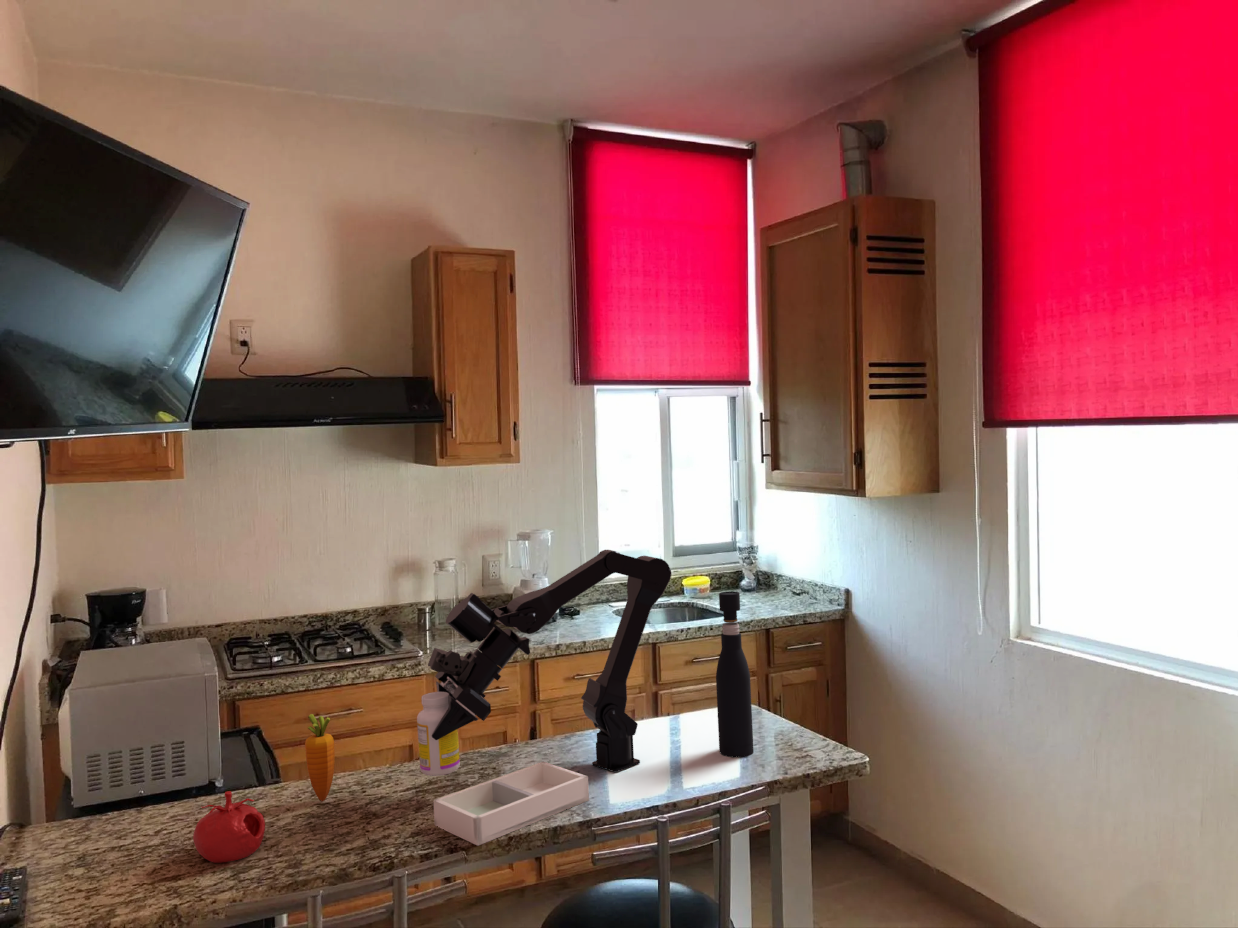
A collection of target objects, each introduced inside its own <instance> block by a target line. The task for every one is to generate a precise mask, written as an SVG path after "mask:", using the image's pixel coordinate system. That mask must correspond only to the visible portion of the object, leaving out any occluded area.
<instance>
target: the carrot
mask: <svg viewBox="0 0 1238 928" xmlns="http://www.w3.org/2000/svg"><path fill="white" fill-rule="evenodd" d="M308 719H309V721H310V722H311V724H312V725H309V726H307V729H308V730H310V731H311V732H312V733H313V734H312V735H310V736H308V737H307V738H306V739H305V741H304V748H305V749H304V751H305V760H306V767H307V773H308V777H309V779H310V780H309V781H310V784H311V786H312V790H313V791H314V794H315V795H316V797H317V798H318V800H319V801H321V802H324V801H326V799H327V797H328V796H329V792H330V790H331V787H332V784H333V779H334V773H335V759H336V758H335V757H336V756H335V754H336V753H335V739H334V737H333V735H332V734H330V733H326V729H327V726H328V724H329V723H330V721H331V718H330V717H326V718H324V716H323V715H319V716H318V720H317V718H316V717H315V715H314V714H313V713H310V714H309V715H308ZM318 721H319V722H318Z"/></svg>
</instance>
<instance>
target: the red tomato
mask: <svg viewBox="0 0 1238 928" xmlns="http://www.w3.org/2000/svg"><path fill="white" fill-rule="evenodd" d="M232 795H233V793H232V791H231V790H229V791H228V790H227V791H225V792H224V797H225V803H224V804H225V805H224V806H223V805H221V804H220V805H218V804H217V805H215V804H213V805H211V804H208V805H204V806H201V808H202V809H206V808H208V807H212V808H211V809H210V811H209V812H208V813H206V814H205V815H204V816H203V817H201V818H200V819H199V820H198V822H197V823H196V826H195V827H194V831H193V837H192V838H193V839H192V840H193V844H194V846H195V849H196V851H197V854H199V855H200V856H201V857H202V858H204V859H205V860H207V861H208V862H211V863H215V864H216V863H217V864H221V863H228V862H233V861H234V862H235V861H238V860H241V859H244V858H248V857H249V856H251V855H253V854H254V853H256V851H257V850H258V849H259V848H260V846H261V844H262V842H263V840H264V836H265V831H266V821H265V818H264V815H263V814H262V813H261V812H259V811H258V809H257V808H256V807H255V806H252V805H249V804H246V803H245V802H247V801H249V802H254V801H255V799H251V798H245V799H244V800H241V801H238V802H232Z"/></svg>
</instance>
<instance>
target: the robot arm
mask: <svg viewBox="0 0 1238 928" xmlns="http://www.w3.org/2000/svg"><path fill="white" fill-rule="evenodd" d="M613 574H618V575H619V574H620V575H623V576H627V581H626V589H627V590H626V591H627V601H626V603H625V606H624V609H623V612H622V615H621V618H620V621H619V624H618V627H617V630H616V633H615V635H614V639H613V641H612V644H611V647H610V650H609V653H608V656H607V659H606V662H605V665H604V668H603V670H602V671H601V674H600V675H599V676H598V677H597V678H596V679H595V680H594V679H593V678H591V677H589V678H588V679H587V680H588V681H587V682H586V689H585V691H584V693H583V695H582V696H581V698H580V699H581V700H582V711H583V712H584V715H585V716H586V717H587V718H588V719H589V721H591V722H592V723H593V725H594V727H595V728H597V729H598V730H599V731H598V732H596V742H595V753H596V756H595V757H596V760H594V761H592V763H591V764H592V766H595V767H598V768H601V769H604V770H608V771H610V772H613V773H618V772H621V771H622V770H625V769H628V768H630V767H633V766H635V765H637V764H640V763H641V760H640V759H638V758H635V753H634V736H635V734H636V733H637V729H638V728H637V727H638V722H637V721H636V720H634V719H633V718H632V717H631V716H629V715H628V714H627V713H626V707H627V704H628V703H627V702H628V689H627V683H628V682H627V681H628V678H629V676H630V671H631V668H632V666H633V662H634V659H635V657H636V654H637V651H638V649H639V645H640V642H641V639H642V636H643V634H644V631H645V627H646V625H647V622H648V619H649V616H650V612H651V609H652V608H653V607H654V605H655V604H656V603H657V602H658V600H660V598H661V597H662V596H663V594H664V593H665V590H666V588H667V586H668V585H669V583H670V581H671V578H672V569H671V567H670V564H668V562H667V561H666V560H664V559H662V558H658V557H653V556H648V555H641V556H638V557H634V556H630V555H626V554H623V553H620V552H619V551H616V550H611V549H604V550H601V551H600V552H598V554H597V555H595V556H593V557H592V558H590V559H589V560H587V561H586V562H584V563H582V564H581V565H579V566H578V567H576V568H575V569H573V570H572V571H570V572H568V573H567V574H564V575H563V576H561V577H560V578H558V579H557V580H555V581H554V582H552V583H551V584H549V585H548V586H545V587H543V588H539V589H536V590H533V591H529V592H527V593H524V594H522V595H520V596H517V597H515V598H512V599H511V600H510V601H509V602H508V603H507V604H506V605H503V606H499V607H496V608H492V609H491V608H490V607H489V606H488V605H486V603H484V602H483V601H482V600H481V598H480V597H479V596H477V595H476V594H475V593H473V592H471V593H469V594H468V596H467V597H465V598H464V599H462V600H461V601H460V602H459V603H458V604H455V605H454V606H453V608H452V609H451V610H450V611H449V612H448V615H447V616H446V618H445V623H446V624H447V625H448V626H449V627H451V628H452V629H453V630H454V632H457V634H459V635H460V636H461V637H463V638H464V639H465V640H466V641H467V642H468V643H470V644H472V643H474V642H476V641H477V642H478V643H480V644H479V645H478V647H477V648H476V649H475V650H474V652H472V651H467V652H466V654H465V655H464V656H462V655H461V654H460V653H459V652H455V651H453V650H451V649H449V650H448V651H447V650H443V649H440V648H437V647H434V648H433V649H432V653H431V656H430V659H429V660H428V663H427V666H428V667H429V668H430V670H433V671H435V672H437V673H436V674H435V676H434V677H435V678H436V679H437V680H438V681H440V682H438V681H437V680H436V681H435V682H436V683H435V685H436V692H447V693H449V695H448V709H447V711H446V712H445V714H444V716H443V717H442V719H441V720H440V722H439V724H438V725H437V727H436V729H435V730H434V732H433V734H432V738H434V739H435V740H438V739H440V738H442V737H444V736H445V735H447V734H449V733H451V732H453V731H455V730H457V729H458V730H459V729H460V728H463V727H464V726H467V725H470V723H473V722H477V721H478V720H479V719H480V720H481V721H483V722H484V721H485V720H486V719H487V718H488V717H489V715H490V714H491V713H492V708H491V707H492V706H491V702H489V701H488V700H487V699H485V697H486V696H487V695H486V694H485V691H486V690H487V689H488V688H489V687H490V685H491V684H492V683H493V682H494V680H496V682H498V681H499V680H500V678H501V677H502V675H500V672H501V671H503V669H504V668H505V666H506V665H507V664H508V663H509V662H510V660H511V659H512V657H514V655H515V654H516V653H517V651H518V650H520V651H521V652H522V653H524V654H525V655H526V656H529V655H530V654H531V649H530V641H531V640H530V639H529V638H528V637H526V636H523V637H520V636H519V635H518V634H517V633H516V632H514V631H513V630H512V629H511V628H514V629H516V630H517V631H519V632H521V633H522V634H527V635H531V634H534V633H537V632H538V631H540V630H541V629H542V628H543V627H544V626H545V625H546V624H547V623H549V622H550V620H552V619H553V618H554V616H555V615H556V613H557V612H558V611H559V610H560V609H561V608H562V607H563V606H564V605H566V604H568V603H569V602H570V601H572V600H574V599H576V598H577V597H578V596H580V595H582V594H583V593H585V592H587V590H589V589H591V588H592V587H594V586H595V585H597V584H599V583H600V582H602V581H604V579H606V578H608V577H609V576H611V575H613ZM496 622H498V623H500V625H503V626H505V627H507V628H505V629H504V630H503V629H501V627H499V626H498V625H497V624H496Z"/></svg>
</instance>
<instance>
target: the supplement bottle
mask: <svg viewBox="0 0 1238 928" xmlns="http://www.w3.org/2000/svg"><path fill="white" fill-rule="evenodd" d="M448 695H449V693H447V692H437V691H434V692H428V693H425V694H423V695H421V705H422V710H420V711H419V712H418V714H417V715H416V716H417V717H416V725H417V739H418V742H417V743H418V755H419V759H418V760H419V767H420V768H419V769H420V772H421V773H422V774H424V775H426V776H429V777H431V776H432V777H433V776H435V777H436V776H445V775H449V774H451V773H454V772H455V771H457V770H458V769H459V768H460V764H461V763H460V762H461V760H460V748H459V747H460V745H459V744H460V743H459V733H458V732H459V729H457V730H455V731H453V732H451V733H449V734H447V735H445V736H444V737H442V738H440V739H438V740H435V739H434V738H432V734H433V732H434V730H435V729H436V727H437V725H438V724H439V722H440V720H441V719H442V717H443V716H444V714H445V712H446V711H447V709H448Z"/></svg>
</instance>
